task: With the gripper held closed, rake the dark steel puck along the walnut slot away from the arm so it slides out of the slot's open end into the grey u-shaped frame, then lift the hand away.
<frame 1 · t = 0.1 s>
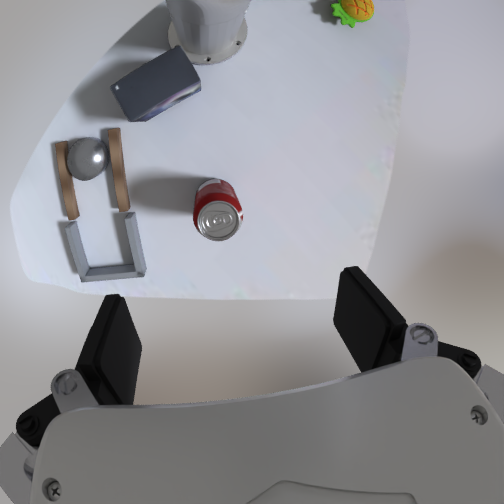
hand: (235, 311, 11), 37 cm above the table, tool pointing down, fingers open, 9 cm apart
small box: (165, 91, 37), on the table
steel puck: (91, 157, 39), on the table
soda can: (215, 197, 46), on the table
toy pineapple: (346, 12, 33), on the table
walnut slot: (93, 174, 40), on the table
grey u-shaped frame: (107, 242, 46), on the table
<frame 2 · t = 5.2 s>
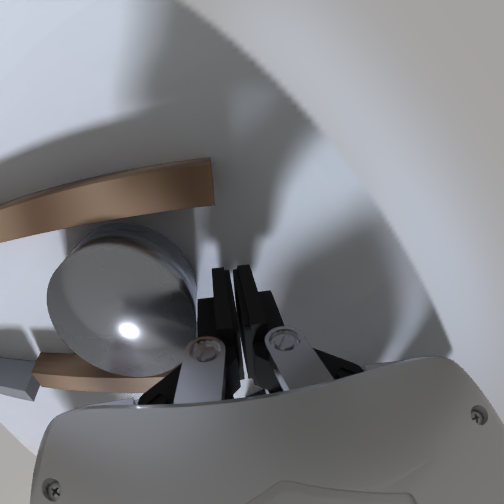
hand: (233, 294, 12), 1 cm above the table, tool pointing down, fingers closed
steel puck: (129, 287, 13), on the table, touching gripper
walnut slot: (95, 295, 13), on the table
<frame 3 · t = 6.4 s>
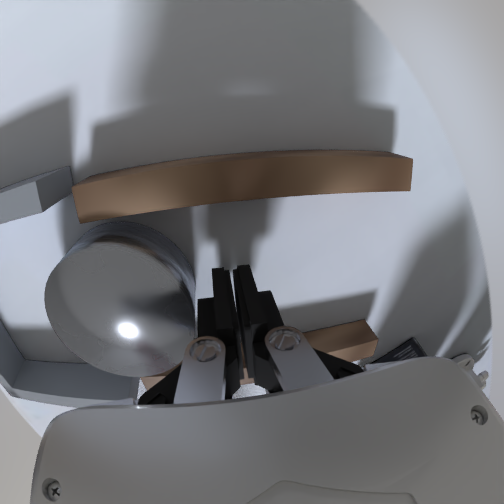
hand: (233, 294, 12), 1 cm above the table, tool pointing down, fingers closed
small box: (386, 380, 22), on the table
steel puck: (128, 286, 13), on the table
walnut slot: (255, 276, 14), on the table
grey u-shaped frame: (36, 298, 12), on the table
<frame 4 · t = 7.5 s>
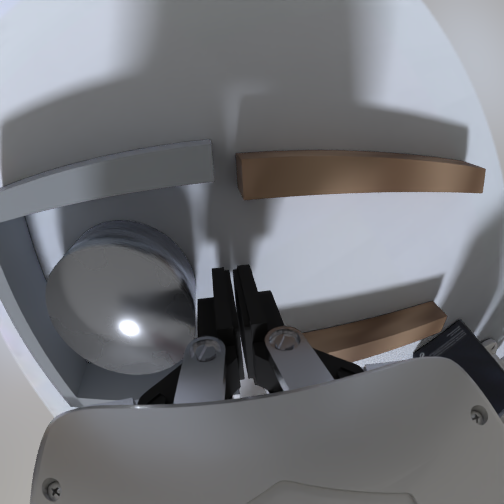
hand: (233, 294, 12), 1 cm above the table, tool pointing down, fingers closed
small box: (432, 361, 23), on the table
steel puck: (128, 284, 13), on the table
walnut slot: (368, 260, 15), on the table
grey u-shaped frame: (127, 290, 13), on the table
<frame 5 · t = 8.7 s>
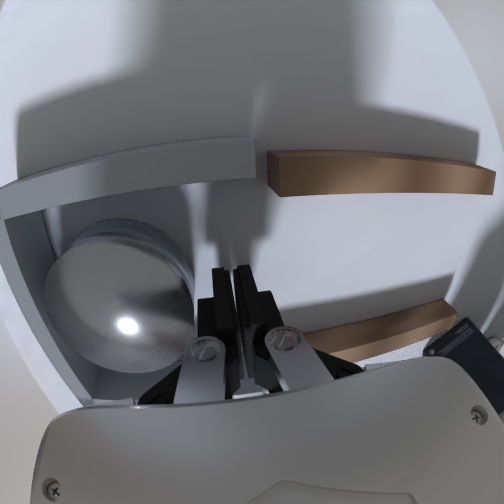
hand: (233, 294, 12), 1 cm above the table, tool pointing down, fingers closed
small box: (440, 358, 23), on the table
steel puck: (127, 282, 13), on the table
walnut slot: (387, 258, 15), on the table
grey u-shaped frame: (150, 287, 13), on the table
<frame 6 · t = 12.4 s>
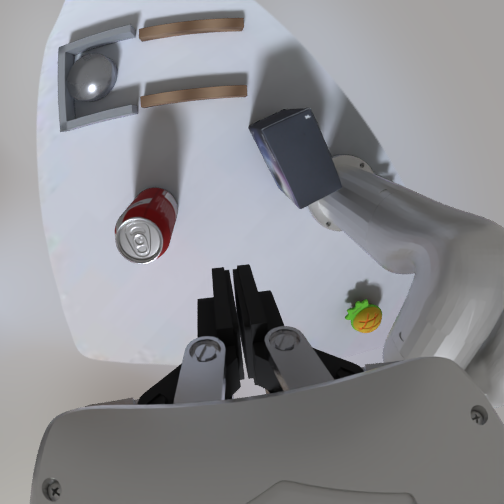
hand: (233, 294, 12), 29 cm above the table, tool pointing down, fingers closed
small box: (281, 149, 38), on the table
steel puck: (95, 78, 29), on the table
soda can: (156, 208, 39), on the table
toy pineapple: (358, 308, 55), on the table
walnut slot: (192, 61, 30), on the table
grey u-shaped frame: (103, 78, 29), on the table
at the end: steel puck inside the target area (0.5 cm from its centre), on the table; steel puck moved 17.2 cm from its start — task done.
